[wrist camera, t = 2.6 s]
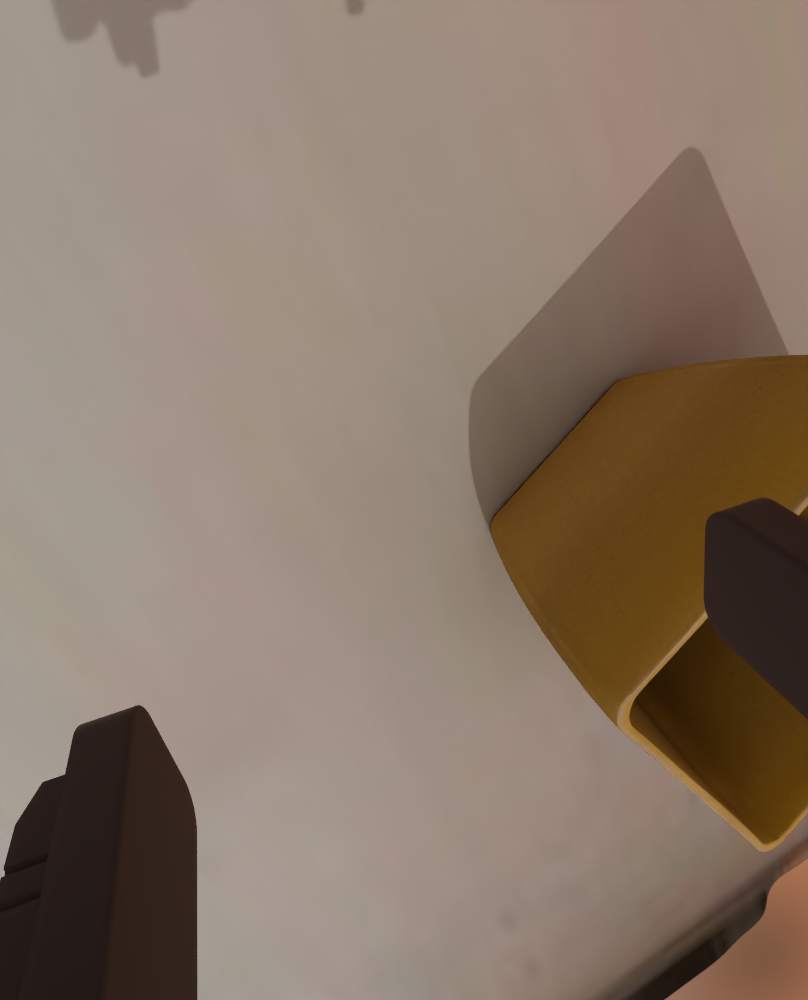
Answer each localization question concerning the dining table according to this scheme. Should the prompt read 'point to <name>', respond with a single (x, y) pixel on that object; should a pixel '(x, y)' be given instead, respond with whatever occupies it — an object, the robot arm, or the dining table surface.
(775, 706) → the flower pot
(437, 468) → the dining table surface
